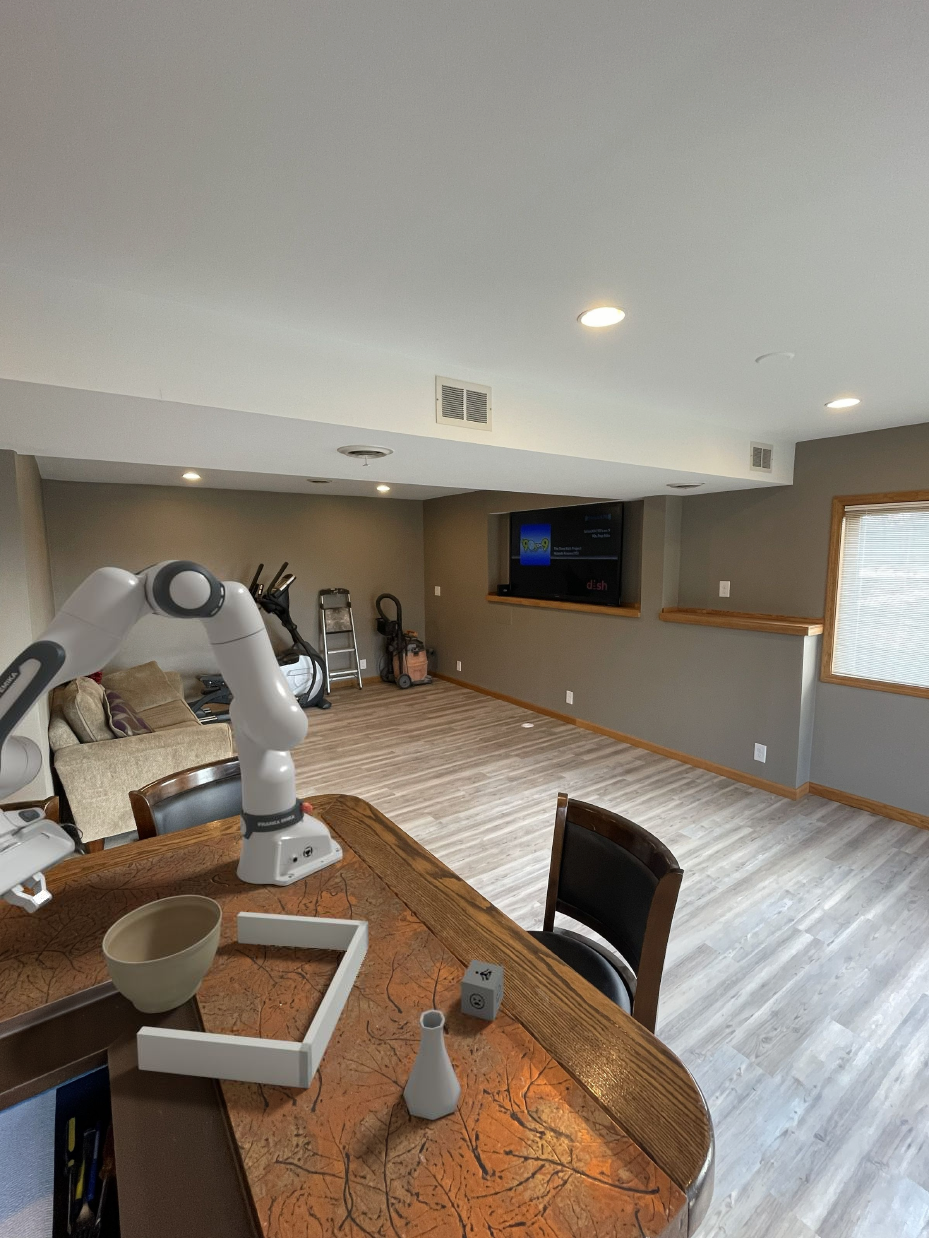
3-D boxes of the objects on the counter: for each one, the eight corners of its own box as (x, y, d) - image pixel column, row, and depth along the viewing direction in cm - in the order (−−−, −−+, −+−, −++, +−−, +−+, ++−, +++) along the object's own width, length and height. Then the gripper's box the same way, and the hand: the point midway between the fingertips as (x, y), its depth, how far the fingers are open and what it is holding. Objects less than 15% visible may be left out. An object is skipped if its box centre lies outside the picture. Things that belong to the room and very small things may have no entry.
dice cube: (493, 1022, 81) (493, 989, 81) (461, 1012, 83) (461, 981, 83) (503, 997, 86) (503, 966, 86) (472, 989, 88) (472, 959, 87)
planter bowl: (92, 993, 87) (88, 926, 86) (199, 942, 98) (197, 883, 98) (126, 1054, 76) (122, 978, 75) (242, 989, 88) (239, 923, 87)
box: (138, 1069, 73) (136, 1033, 73) (241, 938, 100) (240, 911, 99) (308, 1088, 71) (307, 1051, 70) (368, 948, 97) (368, 921, 96)
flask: (403, 1070, 73) (403, 998, 73) (459, 1066, 74) (458, 995, 73) (402, 1124, 66) (401, 1045, 65) (463, 1119, 67) (463, 1041, 66)
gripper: (-77, 863, 78) (-10, 935, 78) (48, 803, 98) (102, 860, 98) (-102, 891, 79) (-36, 963, 79) (27, 826, 99) (80, 882, 99)
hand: (42, 905), depth 89 cm, fingers closed
